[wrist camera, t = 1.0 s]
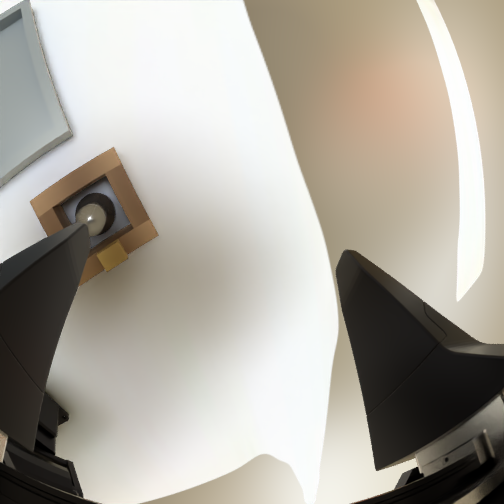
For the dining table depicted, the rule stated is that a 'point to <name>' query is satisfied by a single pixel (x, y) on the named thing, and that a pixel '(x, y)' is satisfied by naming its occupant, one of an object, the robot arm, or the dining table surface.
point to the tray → (25, 95)
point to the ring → (141, 225)
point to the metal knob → (95, 213)
